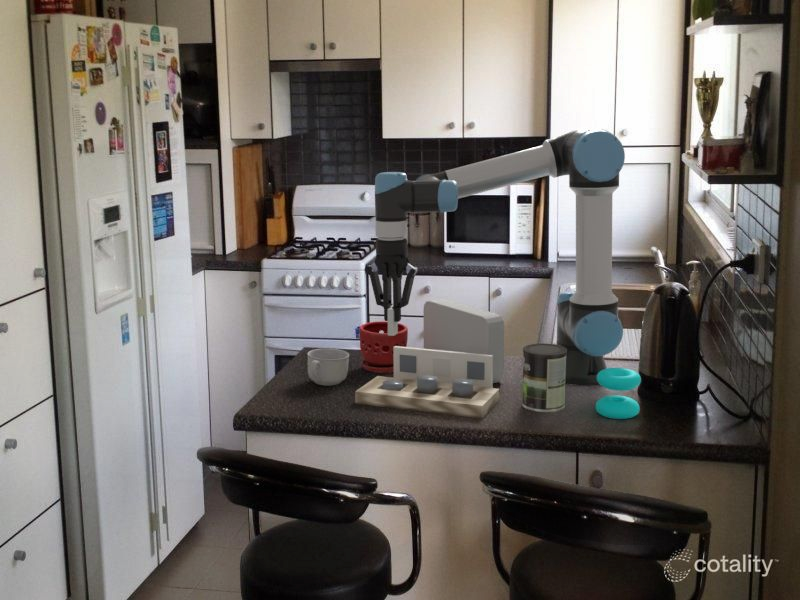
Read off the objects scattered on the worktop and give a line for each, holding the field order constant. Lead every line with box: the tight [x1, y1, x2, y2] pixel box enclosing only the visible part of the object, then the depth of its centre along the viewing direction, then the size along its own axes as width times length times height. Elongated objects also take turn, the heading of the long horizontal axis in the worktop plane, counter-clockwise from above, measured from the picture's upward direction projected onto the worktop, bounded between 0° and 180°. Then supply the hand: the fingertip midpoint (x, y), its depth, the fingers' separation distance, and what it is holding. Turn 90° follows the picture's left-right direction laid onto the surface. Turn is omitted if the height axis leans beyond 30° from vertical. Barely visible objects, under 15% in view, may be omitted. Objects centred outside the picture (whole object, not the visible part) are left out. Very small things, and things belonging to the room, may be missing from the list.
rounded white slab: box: [423, 298, 505, 384], centre depth 257 cm, size 29×8×18 cm, turn 33°
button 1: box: [383, 380, 403, 391], centre depth 237 cm, size 5×5×3 cm
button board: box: [354, 375, 500, 419], centre depth 234 cm, size 32×14×3 cm, turn 68°
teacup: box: [306, 348, 350, 387], centre depth 249 cm, size 14×11×8 cm
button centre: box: [417, 375, 438, 393], centre depth 233 cm, size 5×5×3 cm
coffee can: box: [521, 342, 567, 413], centre depth 229 cm, size 10×10×14 cm
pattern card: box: [393, 346, 494, 388], centre depth 243 cm, size 26×5×10 cm, turn 68°
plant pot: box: [358, 320, 409, 374], centre depth 261 cm, size 13×13×12 cm
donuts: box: [595, 367, 642, 420], centre depth 224 cm, size 10×10×10 cm
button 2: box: [452, 379, 473, 397], centre depth 230 cm, size 5×5×3 cm
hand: (392, 334), depth 234 cm, fingers closed
